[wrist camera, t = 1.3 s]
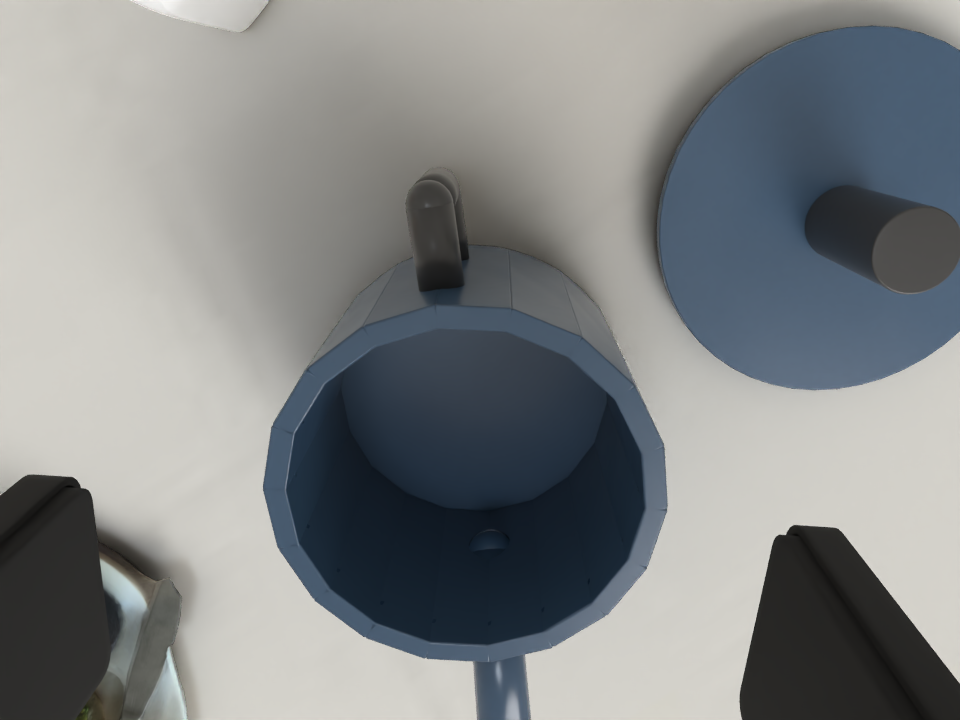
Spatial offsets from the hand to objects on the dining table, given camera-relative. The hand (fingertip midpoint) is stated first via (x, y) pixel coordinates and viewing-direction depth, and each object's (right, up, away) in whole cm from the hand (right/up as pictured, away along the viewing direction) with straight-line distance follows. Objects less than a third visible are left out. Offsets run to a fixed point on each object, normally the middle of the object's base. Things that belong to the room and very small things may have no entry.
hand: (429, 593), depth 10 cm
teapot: (0, +2, +25) cm, 25 cm away
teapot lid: (+15, +9, +21) cm, 28 cm away
